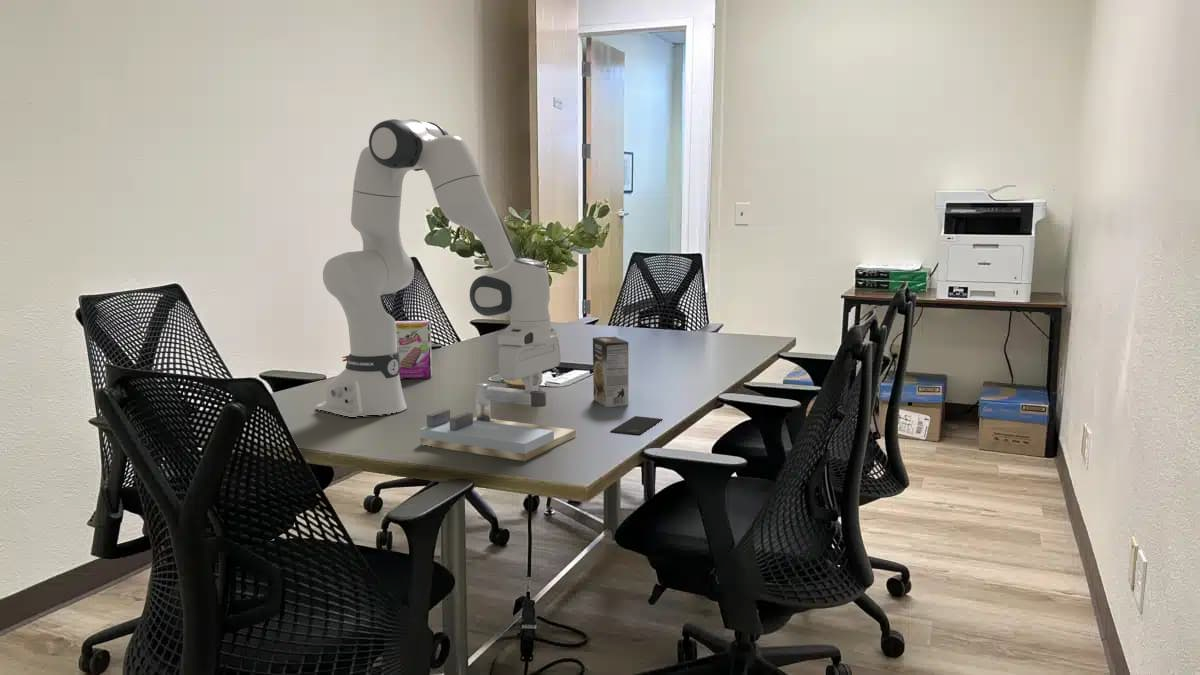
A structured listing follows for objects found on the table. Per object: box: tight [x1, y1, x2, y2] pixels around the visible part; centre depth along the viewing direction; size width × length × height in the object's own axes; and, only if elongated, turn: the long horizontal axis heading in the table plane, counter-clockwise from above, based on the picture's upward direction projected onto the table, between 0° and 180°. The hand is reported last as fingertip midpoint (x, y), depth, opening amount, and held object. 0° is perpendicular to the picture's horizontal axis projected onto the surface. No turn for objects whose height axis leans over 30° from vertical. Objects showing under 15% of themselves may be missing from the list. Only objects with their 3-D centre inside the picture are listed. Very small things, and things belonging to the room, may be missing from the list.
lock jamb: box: [419, 408, 577, 462], centre depth 188 cm, size 26×20×6 cm
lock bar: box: [474, 382, 547, 422], centre depth 194 cm, size 18×3×8 cm, turn 62°
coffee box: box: [592, 336, 629, 408], centre depth 221 cm, size 9×6×16 cm
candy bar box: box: [395, 320, 433, 380], centre depth 255 cm, size 11×5×16 cm, turn 97°
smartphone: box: [609, 415, 664, 437], centre depth 200 cm, size 7×1×15 cm
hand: (532, 392), depth 199 cm, fingers closed
